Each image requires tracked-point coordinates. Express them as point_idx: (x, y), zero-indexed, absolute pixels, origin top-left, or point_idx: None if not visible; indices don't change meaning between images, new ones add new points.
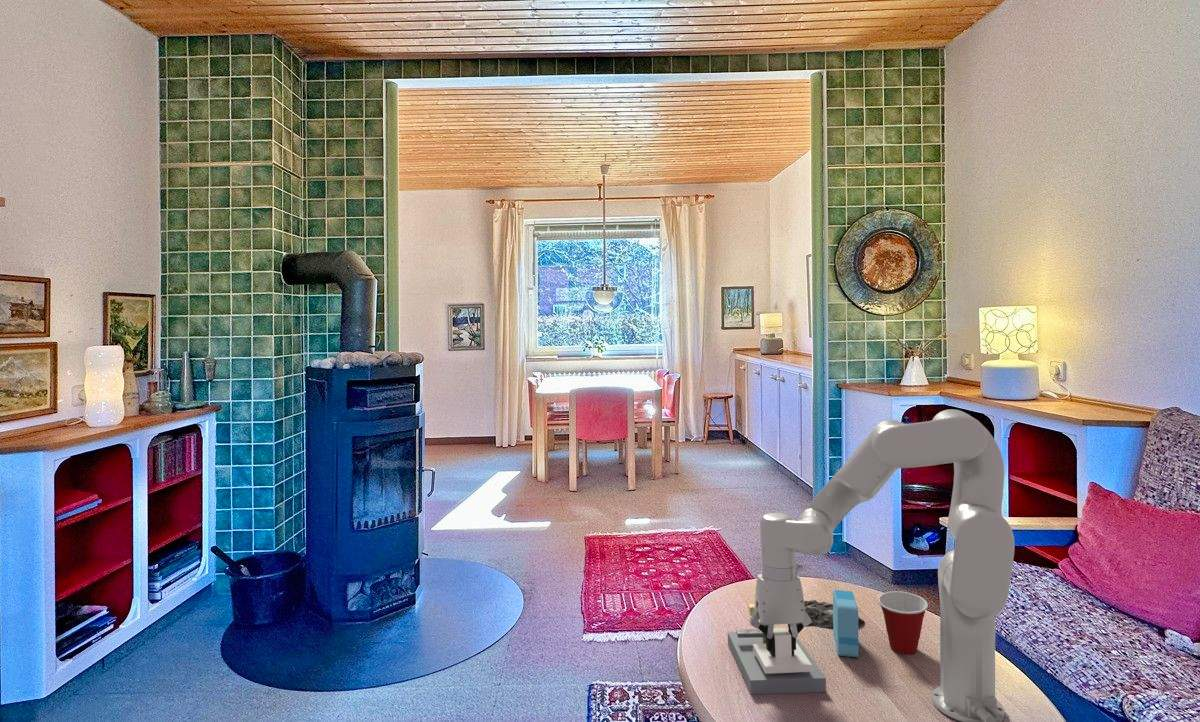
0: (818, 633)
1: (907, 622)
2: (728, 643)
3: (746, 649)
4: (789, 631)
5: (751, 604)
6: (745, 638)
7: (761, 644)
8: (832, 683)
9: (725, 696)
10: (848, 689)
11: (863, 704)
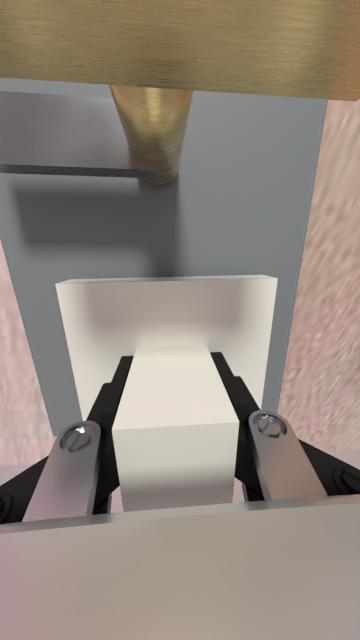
0: None
1: None
2: None
3: (49, 232)
4: (242, 459)
5: None
6: None
7: (100, 291)
8: (293, 359)
9: (3, 414)
10: (315, 382)
11: (312, 430)
